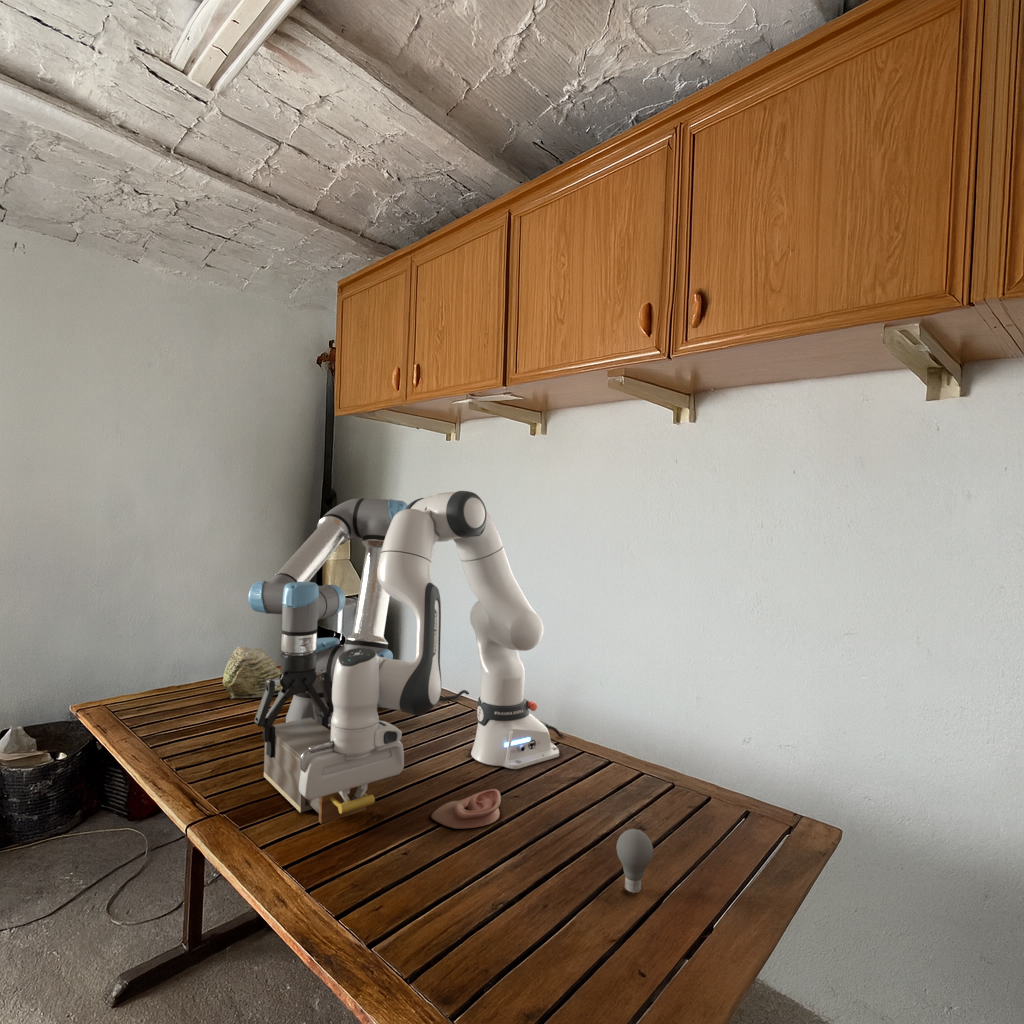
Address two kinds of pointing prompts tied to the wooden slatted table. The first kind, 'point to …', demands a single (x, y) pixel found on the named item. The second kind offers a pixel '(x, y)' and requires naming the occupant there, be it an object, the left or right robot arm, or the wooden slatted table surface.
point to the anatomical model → (470, 811)
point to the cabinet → (292, 757)
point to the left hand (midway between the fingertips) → (295, 749)
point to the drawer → (339, 805)
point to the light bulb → (634, 857)
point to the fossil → (249, 673)
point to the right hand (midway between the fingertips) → (352, 807)
